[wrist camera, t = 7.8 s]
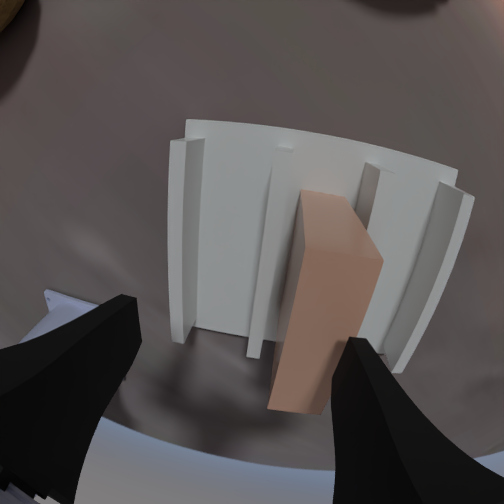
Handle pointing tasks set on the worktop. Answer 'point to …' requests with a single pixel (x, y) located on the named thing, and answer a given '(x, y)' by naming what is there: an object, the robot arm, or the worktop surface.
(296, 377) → the tile
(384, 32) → the worktop surface
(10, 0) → the potato
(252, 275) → the dish rack
